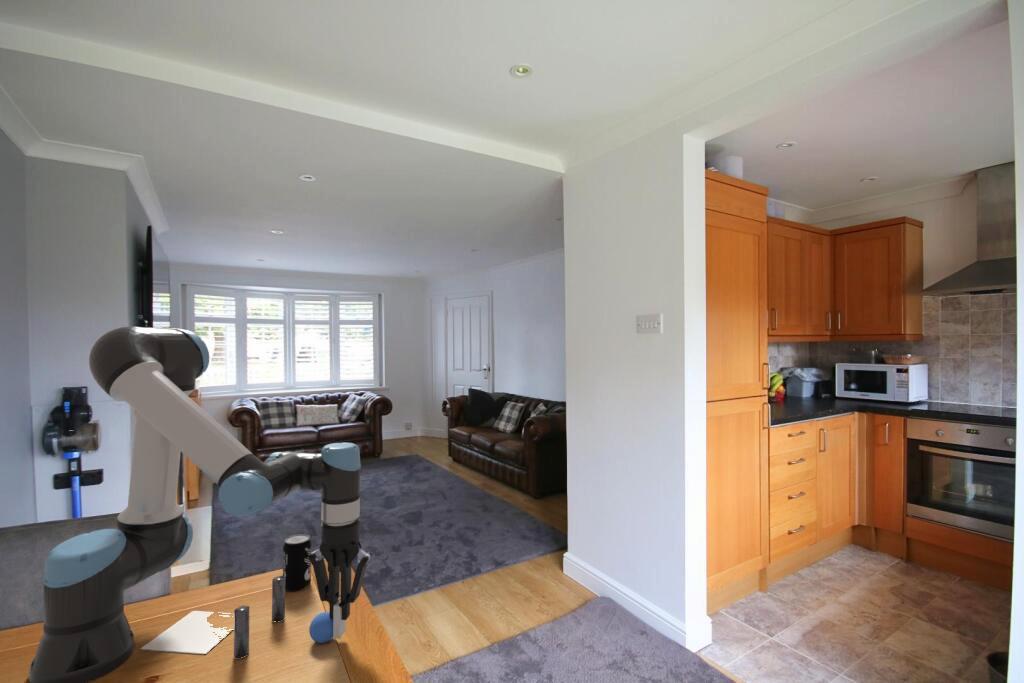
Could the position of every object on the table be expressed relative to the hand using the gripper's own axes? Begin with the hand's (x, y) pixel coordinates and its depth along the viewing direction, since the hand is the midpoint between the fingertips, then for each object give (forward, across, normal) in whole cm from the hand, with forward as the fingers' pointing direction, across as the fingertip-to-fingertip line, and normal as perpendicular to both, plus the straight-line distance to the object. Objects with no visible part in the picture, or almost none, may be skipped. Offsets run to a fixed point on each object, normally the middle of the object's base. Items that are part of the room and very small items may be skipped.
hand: (339, 634), depth 101 cm
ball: (-1, +3, 0) cm, 4 cm away
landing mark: (+2, +31, 0) cm, 31 cm away
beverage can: (+2, +21, -21) cm, 30 cm away
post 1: (+2, +17, +6) cm, 18 cm away
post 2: (+2, +17, -6) cm, 18 cm away
